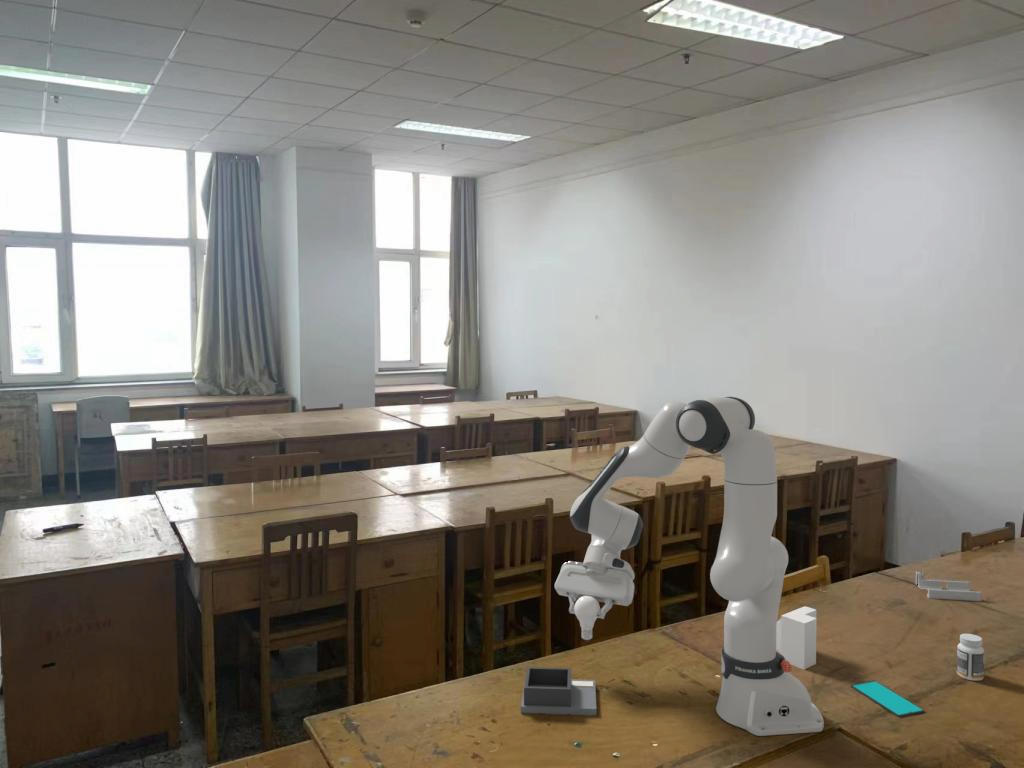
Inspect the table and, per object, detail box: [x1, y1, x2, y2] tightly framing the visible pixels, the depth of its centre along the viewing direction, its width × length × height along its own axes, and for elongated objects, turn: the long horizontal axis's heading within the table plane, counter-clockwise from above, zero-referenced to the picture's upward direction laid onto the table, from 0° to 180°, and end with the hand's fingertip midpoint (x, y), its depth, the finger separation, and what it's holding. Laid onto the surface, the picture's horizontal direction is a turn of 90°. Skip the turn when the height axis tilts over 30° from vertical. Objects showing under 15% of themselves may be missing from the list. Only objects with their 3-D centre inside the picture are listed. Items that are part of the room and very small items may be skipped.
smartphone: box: [850, 680, 925, 718], centre depth 172 cm, size 7×1×15 cm
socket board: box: [520, 666, 597, 716], centre depth 173 cm, size 17×14×6 cm
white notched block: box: [776, 606, 818, 670], centre depth 194 cm, size 11×11×12 cm
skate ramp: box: [915, 570, 982, 602], centre depth 240 cm, size 15×13×5 cm
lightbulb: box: [574, 596, 601, 641], centre depth 184 cm, size 6×6×11 cm
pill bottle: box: [956, 633, 985, 682], centre depth 182 cm, size 6×6×10 cm
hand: (586, 615), depth 183 cm, fingers closed on lightbulb, 6 cm apart
